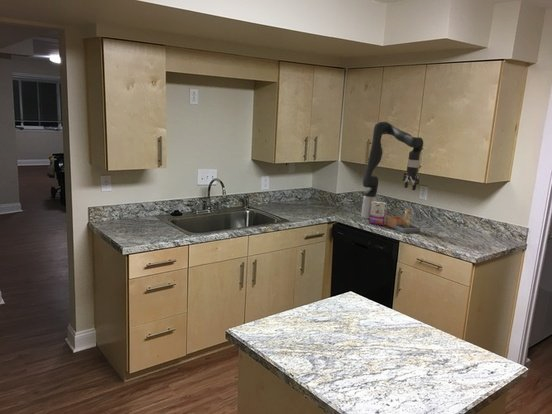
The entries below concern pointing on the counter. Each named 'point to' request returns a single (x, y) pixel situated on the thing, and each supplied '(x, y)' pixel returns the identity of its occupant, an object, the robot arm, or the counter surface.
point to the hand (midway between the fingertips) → (409, 189)
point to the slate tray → (406, 230)
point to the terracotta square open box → (395, 221)
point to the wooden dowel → (407, 218)
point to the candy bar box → (378, 213)
